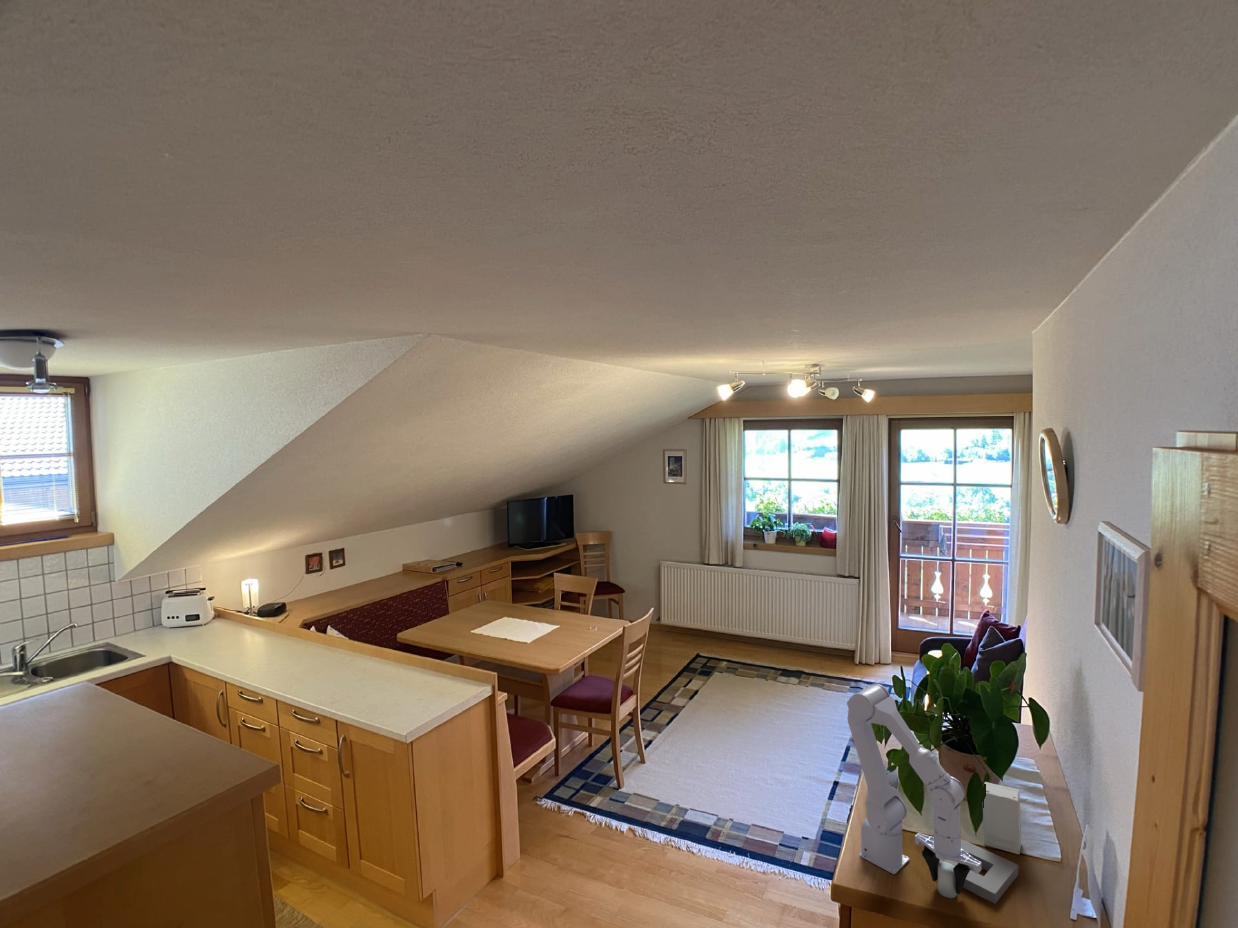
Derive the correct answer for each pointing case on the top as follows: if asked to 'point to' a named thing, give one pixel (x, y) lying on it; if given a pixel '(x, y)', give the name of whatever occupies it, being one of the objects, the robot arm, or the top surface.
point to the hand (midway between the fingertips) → (947, 885)
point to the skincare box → (1002, 818)
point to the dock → (988, 873)
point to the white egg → (946, 880)
